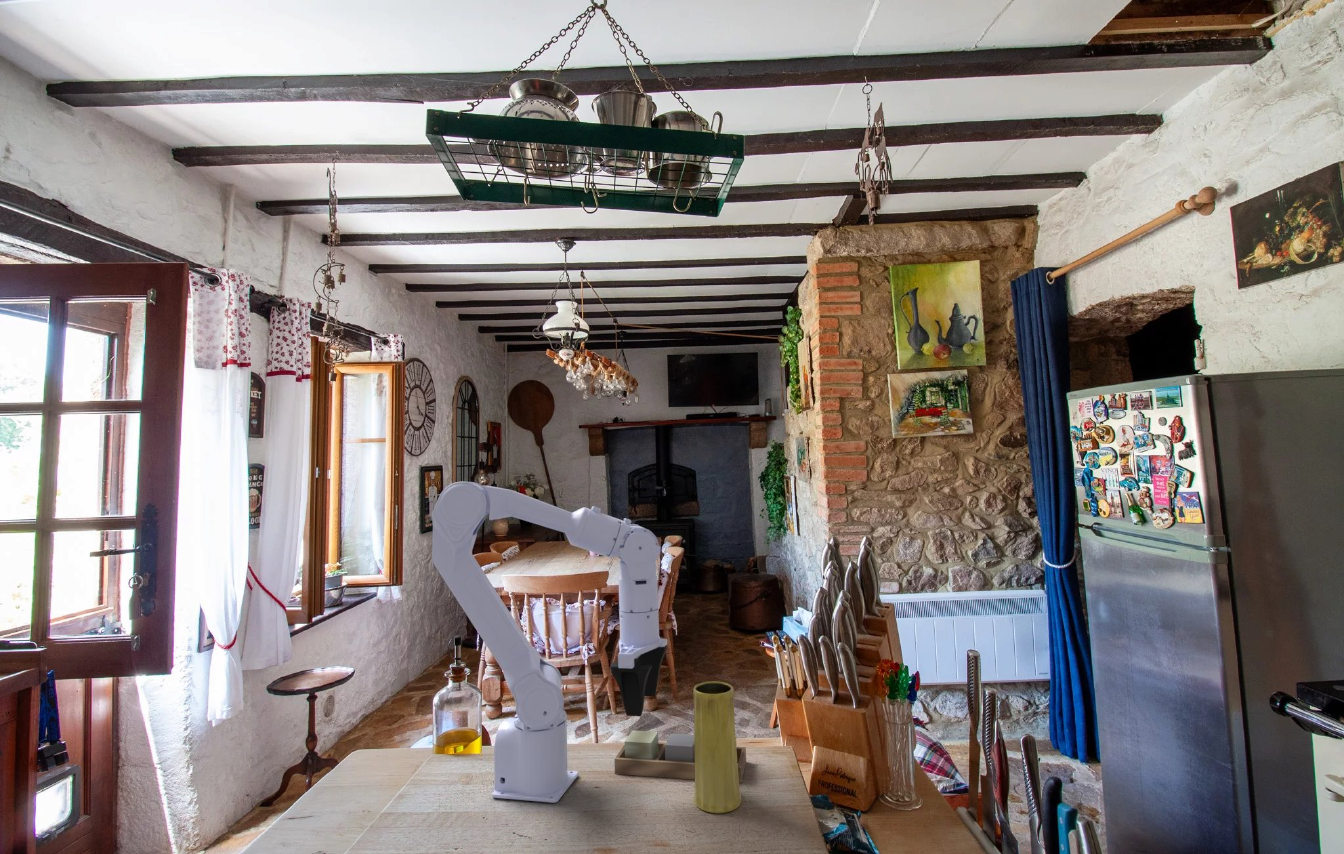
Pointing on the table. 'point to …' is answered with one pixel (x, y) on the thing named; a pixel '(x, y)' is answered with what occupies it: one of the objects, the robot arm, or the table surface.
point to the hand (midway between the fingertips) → (641, 704)
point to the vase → (715, 748)
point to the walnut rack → (658, 758)
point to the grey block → (680, 748)
